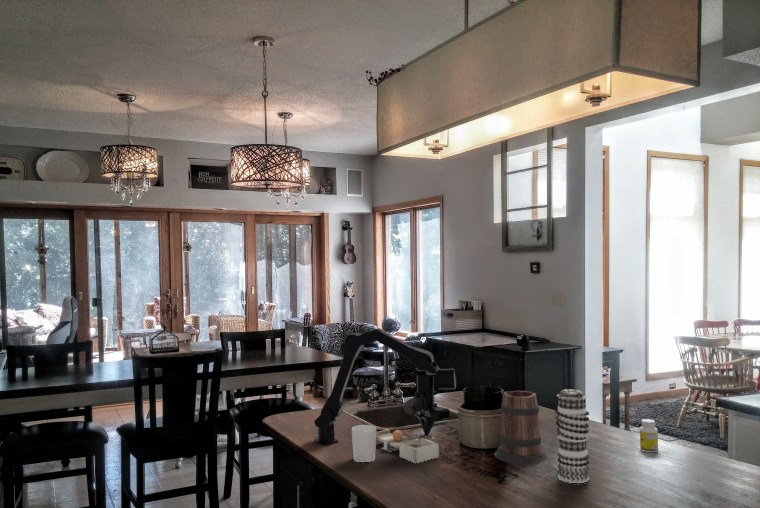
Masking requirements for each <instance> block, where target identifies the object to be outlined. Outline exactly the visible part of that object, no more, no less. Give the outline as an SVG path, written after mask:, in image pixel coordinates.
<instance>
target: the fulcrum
mask: <svg viewBox="0 0 760 508" xmlns="http://www.w3.org/2000/svg"><path fill="white" fill-rule="evenodd" d="M403 439H406V440H408V436H406V435H403ZM380 448H381V449H380V450H382V449H383V450H382V451H384V450H386V451H388V452H387V453H389V452H390V453H393V452H392V451H394V452H396V451H397V450H398V451H400V449H398V448H396V447H393V446H391V445H389V441H387V440H384V442H383V447H380ZM386 451H385V452H386ZM398 451H397V452H398Z"/></svg>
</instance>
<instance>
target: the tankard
mask: <svg viewBox="0 0 760 508" xmlns="http://www.w3.org/2000/svg"><path fill="white" fill-rule="evenodd" d="M500 406H501V407H500V411H501V426H500V427H501V429H500V434H499V439H500V446H498V447H497V449H496V450H495V452H494V454H493V455H494V457H495V458H496V459H498V460H500V461H502V462H504V463H505V462H506V463H511V464H516V465H517V464H518V465H535V464H534V463H537V464H541V462H542V463H544V462H546V461H547V460H548V459H549V456H548V454H546V452H545V450H544V449H543V448H542V445H541V443H542V436H541V431H540V430H541V429H540V428H541V427H540V416H539V415H540V414H539V412H540V406H539V404H538V399H537V393H536V392H532V391H527V390H512V391H509V390H508V391H504V392H503V396H502V403H501V405H500ZM547 458H548V459H547ZM545 460H546V461H545Z"/></svg>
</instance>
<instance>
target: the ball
mask: <svg viewBox="0 0 760 508" xmlns="http://www.w3.org/2000/svg"><path fill="white" fill-rule="evenodd" d="M392 434H393V438H394V440H396V441H400V440H401V439H402V438H403V436H404V433H403V431H401V430H399V429H397V430H395V431H393V432H392Z"/></svg>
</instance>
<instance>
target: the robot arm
mask: <svg viewBox="0 0 760 508" xmlns="http://www.w3.org/2000/svg"><path fill="white" fill-rule="evenodd" d="M373 342H377V343H380V344H382V345H383V346H384V347H386V348H388V349H390V350H392V351H394V352H396V353H398V354H400V355H401V356H403V357H405V358H406V359H407V361H409V362H410V363H411V364H412V365H413V366H415V369H414V370H413V372H411V373H410V376H411V377H416V391H415V392H414V393H413V397H412V398H410V399H408V400H406V401H404V402H403V403H402V410H403V411H404V413H405V414H410V415H411V416H412V415H413V416H414V417H416V418H417V419H418V420H419V422H420V425H421V428H422V431H423V433H424V434H425V435H429V434H431V431H432V428H433V426H434V424H435V422H436V420H444V419H447V418H448V419H449V418H451V410H450V409H449V408H448V407H444V406H440V407H438V404H437V403H435V396H436V395H437V394H438V393H437V392H438V391H435V386H436V388H438V390H456V388H457V377H456V372H455V368H440V366H439V365H438V364H437V363H436V361H435V357H434V354H433V353H432V352H430V351H428V350H426V349H423V348H421V347H420V348H419V347H415V346H412V345H411V344H408V343H406V342H404V341H403V340H401V339H399V338H398V337H395V336H393V335H392V334H390V333H388V332H386V331H384V330H383V329H382V328H381V327H380V328H379V327H377V328H375V329H373V330H371V331H370V330H369V331H367V332H366V331H365V332H363V333H361V332H354V333H351V334H348V335H347V336H346V337H345V339H344V343H343V352H342V353H343V355H342V356H343V357H342V360H341V363H340V366H339V369H338V372H337V375H336V378H335V381H334V384H333V386H332V390H331V392H330V395H329V397H328V398H327V399H326V400H325V403H324V405H323V406H322V408H321V410H320V415H318V417H317V418H316V419H315V420H314V421H313V422H314V425H315V428H317V438H315V439H313V442H316V443H318V444H319V445H322V446H324V445H330V444H334V443H338V442H339V440H338V439H336V437H335V436H336V435H335V422H336V421H337V419H338V418H339V417H340V416H341V415H343V413H344V408H345V406H346V404H347V402H346V401H343V397H344V393H345V391H346V388H347V384H348V382H349V380H350V379H349V378H350V375H351V373H352V370H353V367H354V364H355V361H356V359H357V357H358V356H359V354H360V353H361V351H362V349H363V347H364V345H367V344H370V343H373Z"/></svg>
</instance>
